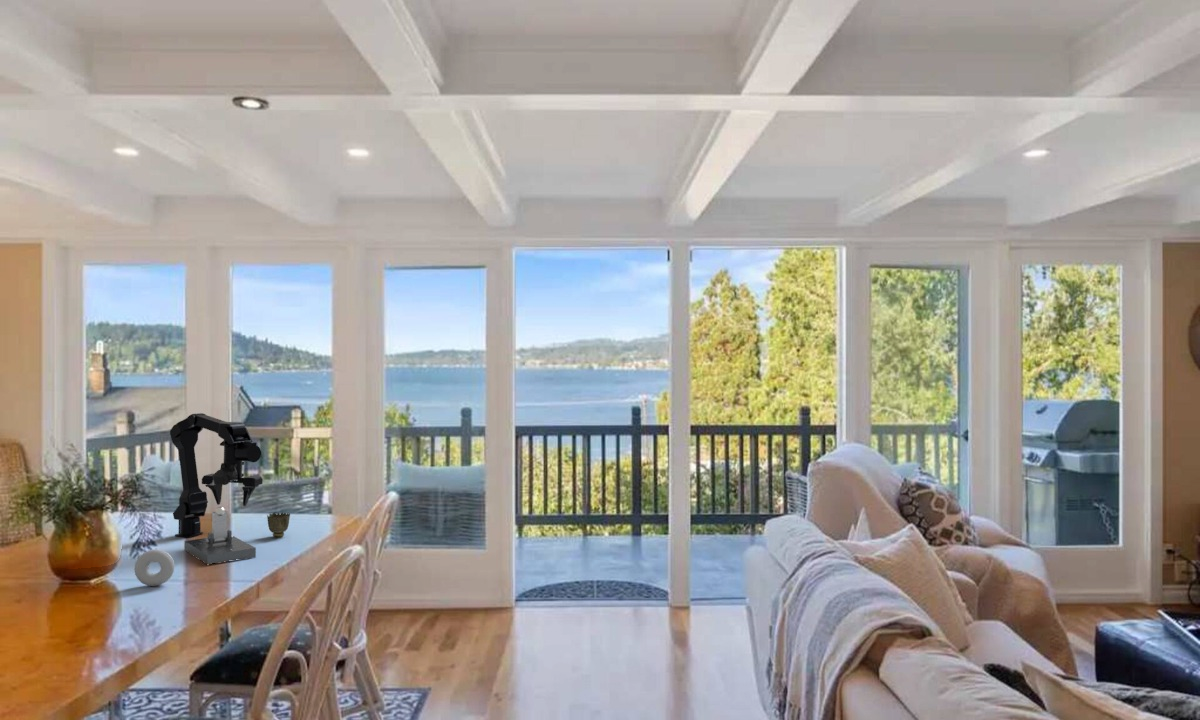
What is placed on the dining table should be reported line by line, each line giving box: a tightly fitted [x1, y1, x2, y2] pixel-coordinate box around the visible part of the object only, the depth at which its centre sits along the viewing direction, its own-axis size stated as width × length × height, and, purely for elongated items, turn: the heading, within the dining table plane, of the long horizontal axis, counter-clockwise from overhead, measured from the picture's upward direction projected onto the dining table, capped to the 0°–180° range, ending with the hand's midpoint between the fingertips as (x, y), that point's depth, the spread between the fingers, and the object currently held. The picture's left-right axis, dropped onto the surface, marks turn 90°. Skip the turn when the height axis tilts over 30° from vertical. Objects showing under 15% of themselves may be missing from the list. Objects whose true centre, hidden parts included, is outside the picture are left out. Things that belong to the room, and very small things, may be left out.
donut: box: [134, 548, 176, 587], centre depth 206 cm, size 10×4×10 cm, turn 100°
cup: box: [266, 511, 291, 538], centre depth 263 cm, size 8×7×8 cm
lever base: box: [184, 529, 257, 564], centre depth 240 cm, size 24×14×7 cm, turn 44°
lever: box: [211, 506, 228, 544], centre depth 240 cm, size 3×4×12 cm
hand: (231, 505), depth 255 cm, fingers open, 9 cm apart
